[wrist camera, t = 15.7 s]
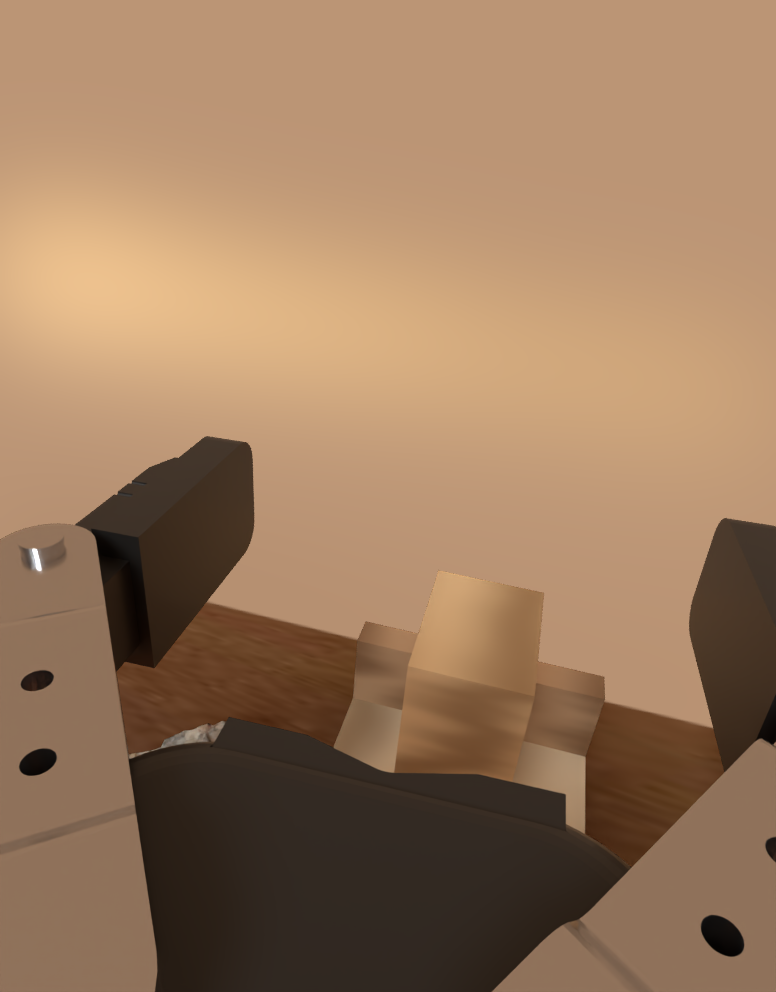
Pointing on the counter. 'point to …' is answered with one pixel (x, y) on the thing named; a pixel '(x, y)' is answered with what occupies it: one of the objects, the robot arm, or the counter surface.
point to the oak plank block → (470, 679)
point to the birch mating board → (548, 737)
